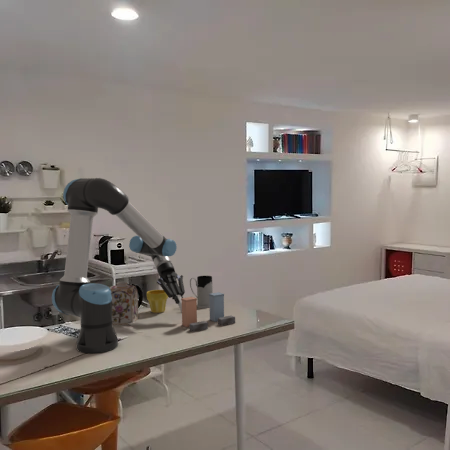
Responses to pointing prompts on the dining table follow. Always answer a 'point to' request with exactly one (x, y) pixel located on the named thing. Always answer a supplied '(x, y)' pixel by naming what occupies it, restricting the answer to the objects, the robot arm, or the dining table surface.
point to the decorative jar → (124, 304)
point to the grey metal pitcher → (203, 290)
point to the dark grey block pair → (204, 325)
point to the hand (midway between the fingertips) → (183, 308)
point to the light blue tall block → (216, 306)
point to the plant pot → (157, 300)
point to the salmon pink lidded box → (189, 311)
